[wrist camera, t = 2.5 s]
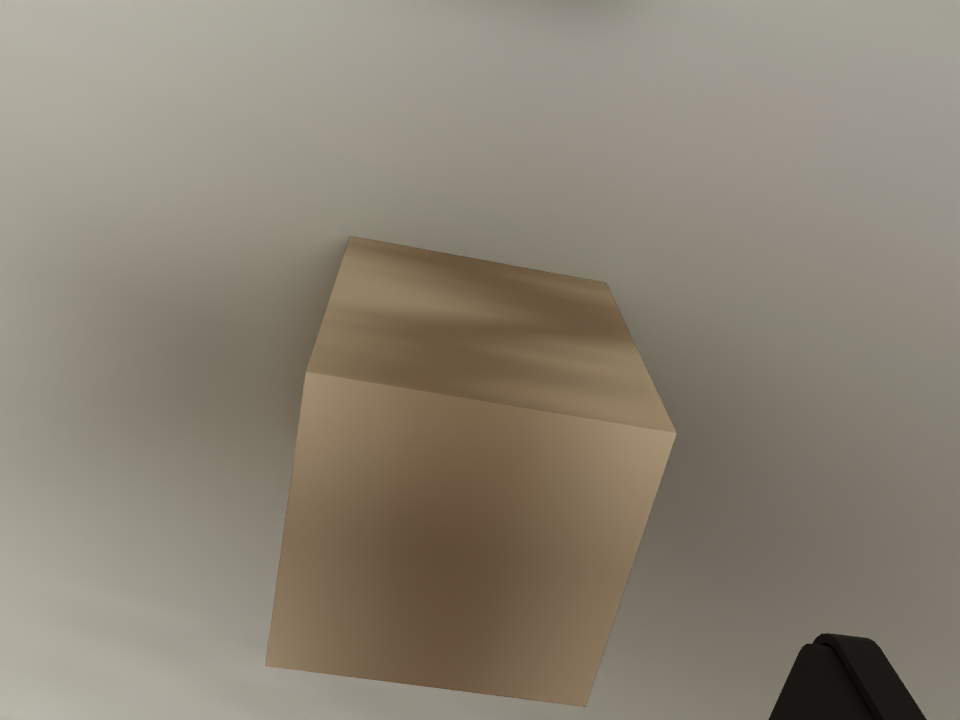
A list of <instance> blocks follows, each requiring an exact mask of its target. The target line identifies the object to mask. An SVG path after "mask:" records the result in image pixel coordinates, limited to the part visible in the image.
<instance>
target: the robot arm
mask: <svg viewBox="0 0 960 720" xmlns="http://www.w3.org/2000/svg"><path fill="white" fill-rule="evenodd" d="M769 720H926V718H925V717H924V715H923V714H922V712H921V710H920V709H919V707H918V706H917V704H916V703H915V701H914V700H913V698H912V697H911V695H910V693H909V692H908V690H907V689H906V687H905V686H904V684H903V683H902V681H901V680H900V678H899V676H898V675H897V673H896V672H895V670H894V669H893V667H892V666H891V664H890V663H889V661H888V659H887V658H886V656H885V655H884V653H883V652H882V650H881V649H880V647H879V646H878V645H877V644H876V643H875V642H874V641H873V640H871V639H868V638H862V637H854V636H845V635H837V634H829V633H826V634H821V635H819V636H818V637H817V638H816V639H815V640H814V642H813V644H806V645H805V646H803V647H802V649H801V650H800V652H799V654H798V656H797V658H796V660H795V663H794V665H793V667H792V669H791V671H790V674H789V676H788V678H787V680H786V682H785V685H784V687H783V689H782V691H781V693H780V696H779V698H778V700H777V702H776V705H775V707H774V709H773V711H772V713H771V716H770V718H769Z"/></svg>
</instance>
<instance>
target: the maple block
mask: <svg viewBox="0 0 960 720" xmlns="http://www.w3.org/2000/svg"><path fill="white" fill-rule="evenodd" d="M676 434H677V433H676V431H675V428H674V426H673V424H672V422H671V420H670V418H669V416H668V414H667V411H666V409H665V407H664V405H663V403H662V401H661V399H660V396H659V394H658V392H657V390H656V388H655V386H654V384H653V382H652V379H651V377H650V375H649V373H648V371H647V369H646V367H645V365H644V362H643V360H642V358H641V356H640V354H639V352H638V350H637V347H636V345H635V343H634V341H633V339H632V337H631V335H630V333H629V330H628V328H627V326H626V324H625V322H624V320H623V318H622V316H621V313H620V311H619V309H618V307H617V305H616V303H615V301H614V298H613V296H612V294H611V292H610V290H609V288H608V286H607V284H606V283H605V282H599V281H594V280H588V279H583V278H577V277H572V276H567V275H561V274H556V273H550V272H545V271H539V270H534V269H528V268H523V267H517V266H512V265H507V264H501V263H496V262H490V261H485V260H479V259H474V258H468V257H463V256H458V255H452V254H447V253H441V252H436V251H430V250H425V249H419V248H414V247H408V246H403V245H398V244H392V243H387V242H381V241H376V240H370V239H365V238H359V237H354V236H350V238H349V241H348V244H347V247H346V250H345V253H344V256H343V259H342V262H341V265H340V269H339V272H338V275H337V278H336V281H335V284H334V287H333V290H332V293H331V296H330V299H329V302H328V305H327V308H326V311H325V314H324V317H323V320H322V323H321V326H320V329H319V333H318V336H317V339H316V342H315V345H314V348H313V351H312V354H311V357H310V360H309V363H308V366H307V369H306V373H305V380H304V387H303V395H302V402H301V409H300V417H299V424H298V431H297V438H296V446H295V453H294V460H293V468H292V475H291V482H290V489H289V497H288V504H287V511H286V519H285V526H284V533H283V540H282V548H281V555H280V562H279V570H278V577H277V584H276V591H275V599H274V606H273V613H272V621H271V628H270V635H269V643H268V650H267V657H266V664H265V666H271V667H278V668H286V669H294V670H302V671H310V672H317V673H325V674H333V675H341V676H349V677H356V678H364V679H372V680H380V681H388V682H395V683H403V684H411V685H419V686H426V687H434V688H442V689H450V690H458V691H465V692H473V693H481V694H489V695H497V696H504V697H512V698H520V699H528V700H535V701H543V702H551V703H559V704H567V705H574V706H582V707H586V704H587V701H588V698H589V695H590V692H591V689H592V686H593V683H594V680H595V677H596V674H597V671H598V668H599V665H600V662H601V659H602V656H603V653H604V650H605V647H606V644H607V641H608V638H609V635H610V632H611V629H612V626H613V623H614V620H615V617H616V614H617V611H618V608H619V605H620V602H621V599H622V596H623V593H624V590H625V587H626V584H627V581H628V578H629V575H630V572H631V569H632V566H633V563H634V560H635V557H636V554H637V551H638V548H639V545H640V542H641V539H642V536H643V533H644V530H645V527H646V524H647V521H648V518H649V515H650V512H651V509H652V506H653V503H654V500H655V497H656V494H657V491H658V488H659V485H660V482H661V479H662V476H663V473H664V470H665V467H666V464H667V461H668V458H669V455H670V452H671V449H672V446H673V443H674V440H675V437H676Z"/></svg>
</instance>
